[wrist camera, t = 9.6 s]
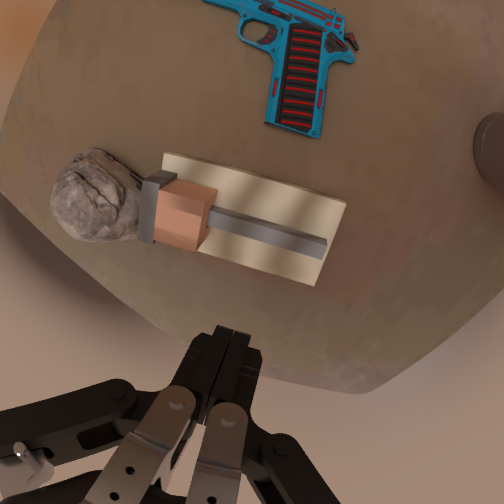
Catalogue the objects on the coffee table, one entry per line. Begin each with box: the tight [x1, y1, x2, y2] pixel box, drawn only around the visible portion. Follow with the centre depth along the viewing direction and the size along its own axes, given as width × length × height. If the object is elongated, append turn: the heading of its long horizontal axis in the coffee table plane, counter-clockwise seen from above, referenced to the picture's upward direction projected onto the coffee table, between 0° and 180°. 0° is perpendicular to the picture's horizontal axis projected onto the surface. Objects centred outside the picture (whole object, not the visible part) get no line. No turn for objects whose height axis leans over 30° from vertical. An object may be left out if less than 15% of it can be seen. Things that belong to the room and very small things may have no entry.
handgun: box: [202, 0, 359, 139], centre depth 27 cm, size 23×3×15 cm
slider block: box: [153, 179, 217, 253], centre depth 33 cm, size 5×6×5 cm
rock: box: [50, 148, 143, 243], centre depth 34 cm, size 15×12×10 cm
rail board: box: [137, 151, 346, 286], centre depth 34 cm, size 21×11×6 cm, turn 76°
